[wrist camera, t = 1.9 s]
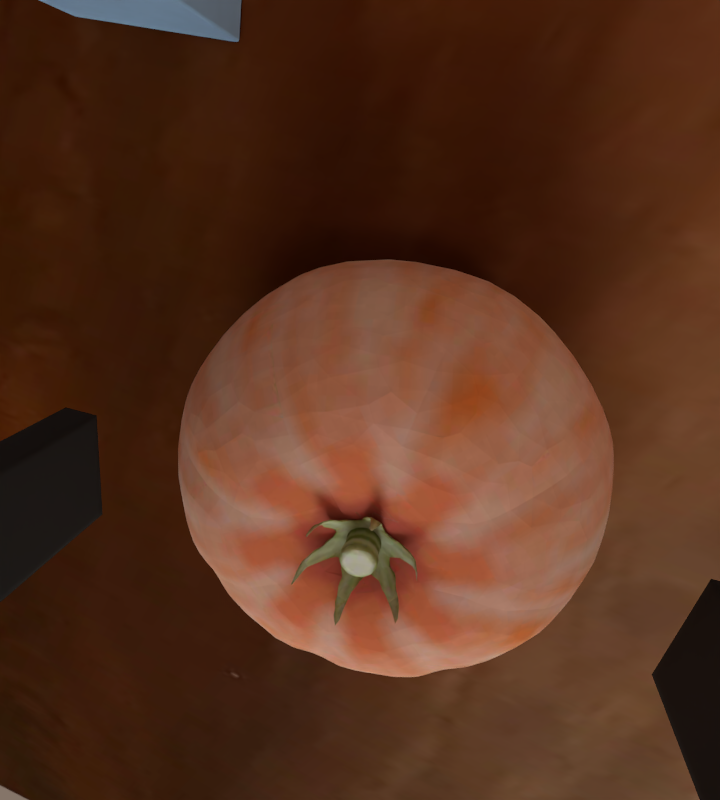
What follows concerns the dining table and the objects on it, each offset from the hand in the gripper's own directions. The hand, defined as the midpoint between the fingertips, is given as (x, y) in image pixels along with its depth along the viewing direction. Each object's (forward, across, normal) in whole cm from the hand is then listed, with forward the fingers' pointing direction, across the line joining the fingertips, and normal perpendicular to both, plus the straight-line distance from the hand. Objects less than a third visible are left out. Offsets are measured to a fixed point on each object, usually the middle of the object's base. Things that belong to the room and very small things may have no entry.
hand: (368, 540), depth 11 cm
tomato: (+7, 0, 0) cm, 7 cm away
